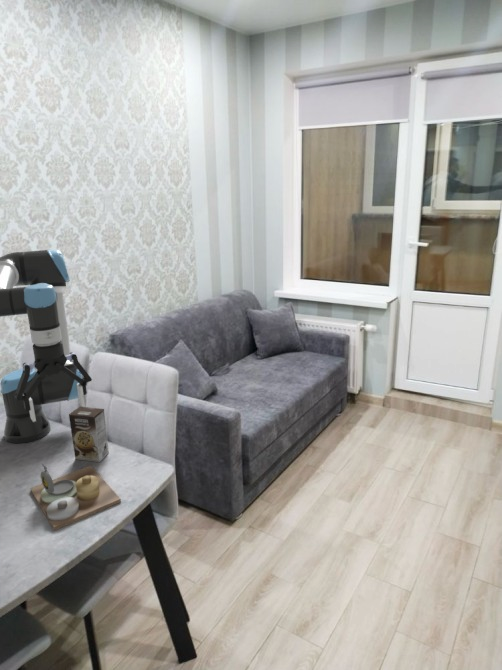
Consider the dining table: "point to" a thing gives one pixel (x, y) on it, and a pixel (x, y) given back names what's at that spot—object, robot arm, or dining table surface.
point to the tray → (76, 498)
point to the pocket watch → (55, 484)
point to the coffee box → (89, 434)
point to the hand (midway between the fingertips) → (58, 412)
